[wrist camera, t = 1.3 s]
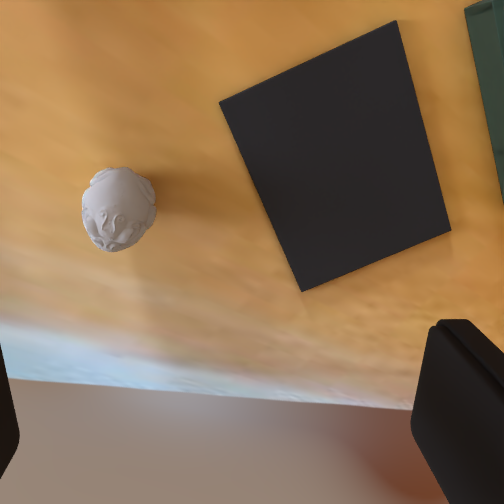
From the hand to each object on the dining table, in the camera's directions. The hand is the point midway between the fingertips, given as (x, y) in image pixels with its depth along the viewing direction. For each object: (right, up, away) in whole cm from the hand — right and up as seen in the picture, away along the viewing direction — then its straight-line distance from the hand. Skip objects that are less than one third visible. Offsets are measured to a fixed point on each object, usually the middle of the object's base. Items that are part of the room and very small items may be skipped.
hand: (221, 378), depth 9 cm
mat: (+9, +10, +31) cm, 33 cm away
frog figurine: (-11, +8, +30) cm, 33 cm away
